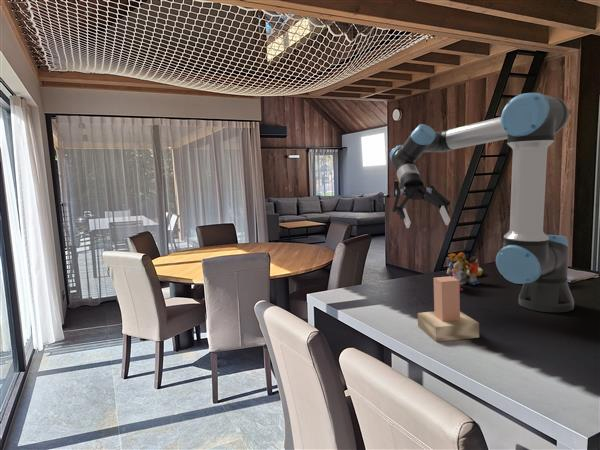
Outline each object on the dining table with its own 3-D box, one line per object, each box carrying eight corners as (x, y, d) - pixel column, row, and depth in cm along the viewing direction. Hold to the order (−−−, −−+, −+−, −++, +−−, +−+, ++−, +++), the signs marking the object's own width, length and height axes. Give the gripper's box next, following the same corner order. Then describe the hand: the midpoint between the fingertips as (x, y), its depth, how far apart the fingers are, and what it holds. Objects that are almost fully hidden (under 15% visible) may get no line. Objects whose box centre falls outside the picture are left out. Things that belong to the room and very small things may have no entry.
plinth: (456, 322, 119) (456, 309, 119) (479, 337, 107) (479, 322, 107) (417, 326, 118) (417, 312, 117) (436, 341, 106) (435, 327, 106)
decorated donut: (472, 279, 167) (472, 270, 167) (450, 275, 176) (450, 266, 176) (487, 274, 173) (487, 266, 173) (464, 271, 182) (464, 262, 182)
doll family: (456, 293, 148) (456, 258, 146) (433, 289, 155) (432, 256, 153) (482, 281, 162) (481, 249, 160) (459, 278, 169) (458, 247, 167)
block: (451, 313, 115) (450, 276, 114) (460, 319, 110) (459, 280, 109) (434, 315, 114) (433, 277, 113) (442, 321, 109) (441, 281, 108)
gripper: (439, 184, 151) (460, 228, 137) (374, 188, 148) (389, 233, 135) (445, 169, 145) (468, 214, 131) (378, 173, 142) (394, 219, 129)
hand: (428, 224), depth 133 cm, fingers open, 13 cm apart
